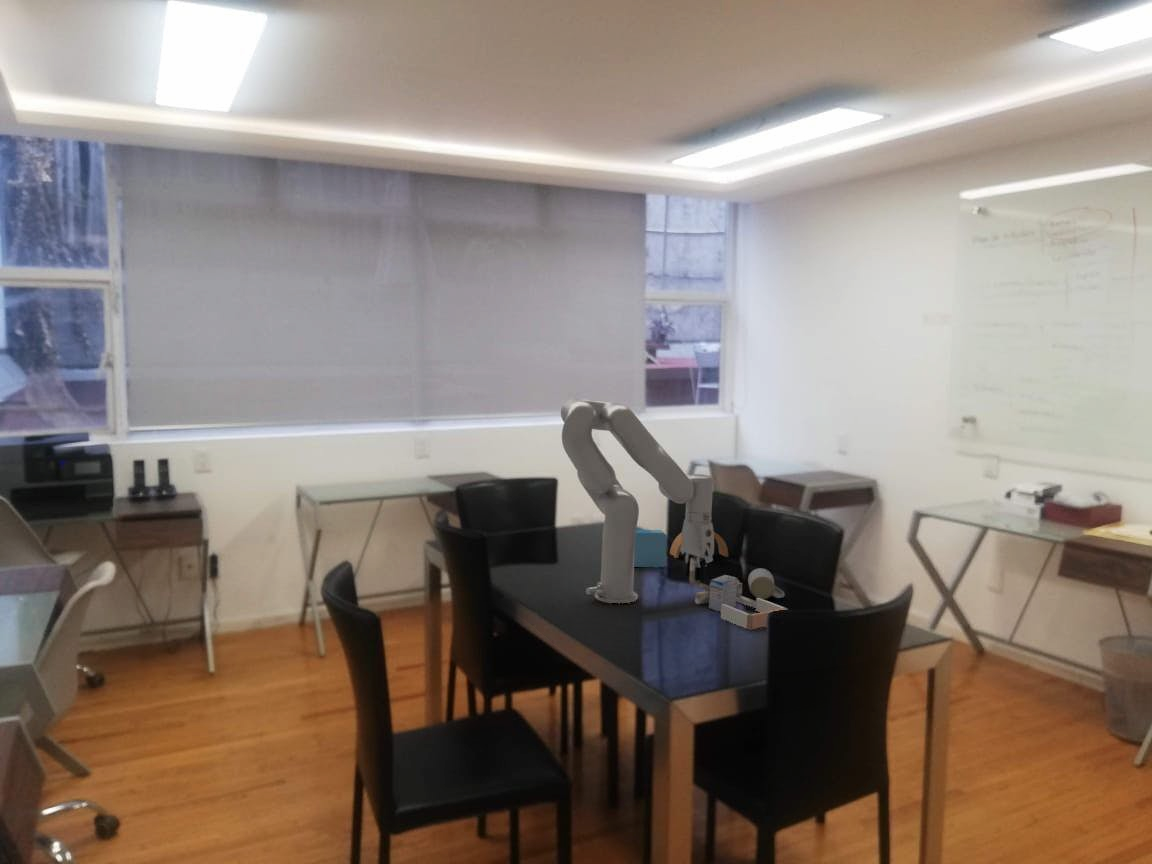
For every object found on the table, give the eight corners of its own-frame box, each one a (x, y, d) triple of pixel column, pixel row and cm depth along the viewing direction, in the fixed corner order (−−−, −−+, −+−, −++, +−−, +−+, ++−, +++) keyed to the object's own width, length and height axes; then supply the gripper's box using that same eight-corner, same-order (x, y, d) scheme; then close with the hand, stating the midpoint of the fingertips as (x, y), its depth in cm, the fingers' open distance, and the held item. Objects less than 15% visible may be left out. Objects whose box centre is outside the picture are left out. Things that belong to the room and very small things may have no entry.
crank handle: (701, 605, 248) (703, 567, 247) (677, 595, 257) (679, 558, 256) (741, 598, 257) (743, 561, 255) (716, 589, 265) (719, 553, 264)
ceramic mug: (749, 599, 258) (751, 574, 257) (747, 591, 266) (749, 566, 265) (785, 602, 257) (788, 577, 256) (782, 594, 265) (784, 569, 264)
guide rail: (760, 611, 247) (760, 606, 246) (712, 592, 263) (713, 587, 263) (765, 610, 248) (766, 605, 248) (717, 591, 264) (718, 586, 264)
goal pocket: (749, 630, 229) (750, 615, 229) (720, 618, 238) (721, 604, 238) (787, 623, 237) (788, 608, 236) (758, 611, 246) (758, 597, 246)
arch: (728, 557, 308) (730, 529, 307) (675, 559, 303) (677, 530, 302) (721, 553, 314) (722, 525, 313) (669, 554, 308) (670, 527, 307)
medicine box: (722, 603, 253) (724, 574, 252) (736, 607, 250) (738, 577, 249) (708, 609, 246) (710, 579, 246) (722, 613, 244) (724, 582, 243)
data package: (662, 564, 294) (664, 529, 292) (665, 568, 289) (667, 532, 288) (627, 564, 292) (628, 529, 291) (629, 568, 288) (631, 532, 286)
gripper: (727, 521, 251) (723, 583, 253) (689, 510, 265) (686, 570, 267) (707, 523, 247) (703, 586, 249) (670, 512, 261) (667, 572, 263)
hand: (694, 577), depth 258 cm, fingers closed on crank handle, 3 cm apart
